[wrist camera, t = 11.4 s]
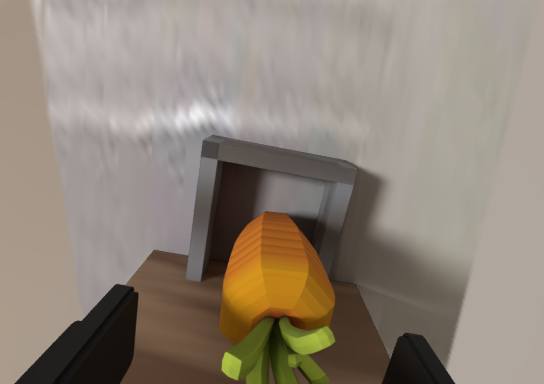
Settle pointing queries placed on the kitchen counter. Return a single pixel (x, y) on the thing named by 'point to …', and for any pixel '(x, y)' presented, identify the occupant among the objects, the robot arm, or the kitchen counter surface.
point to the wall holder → (210, 275)
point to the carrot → (275, 304)
